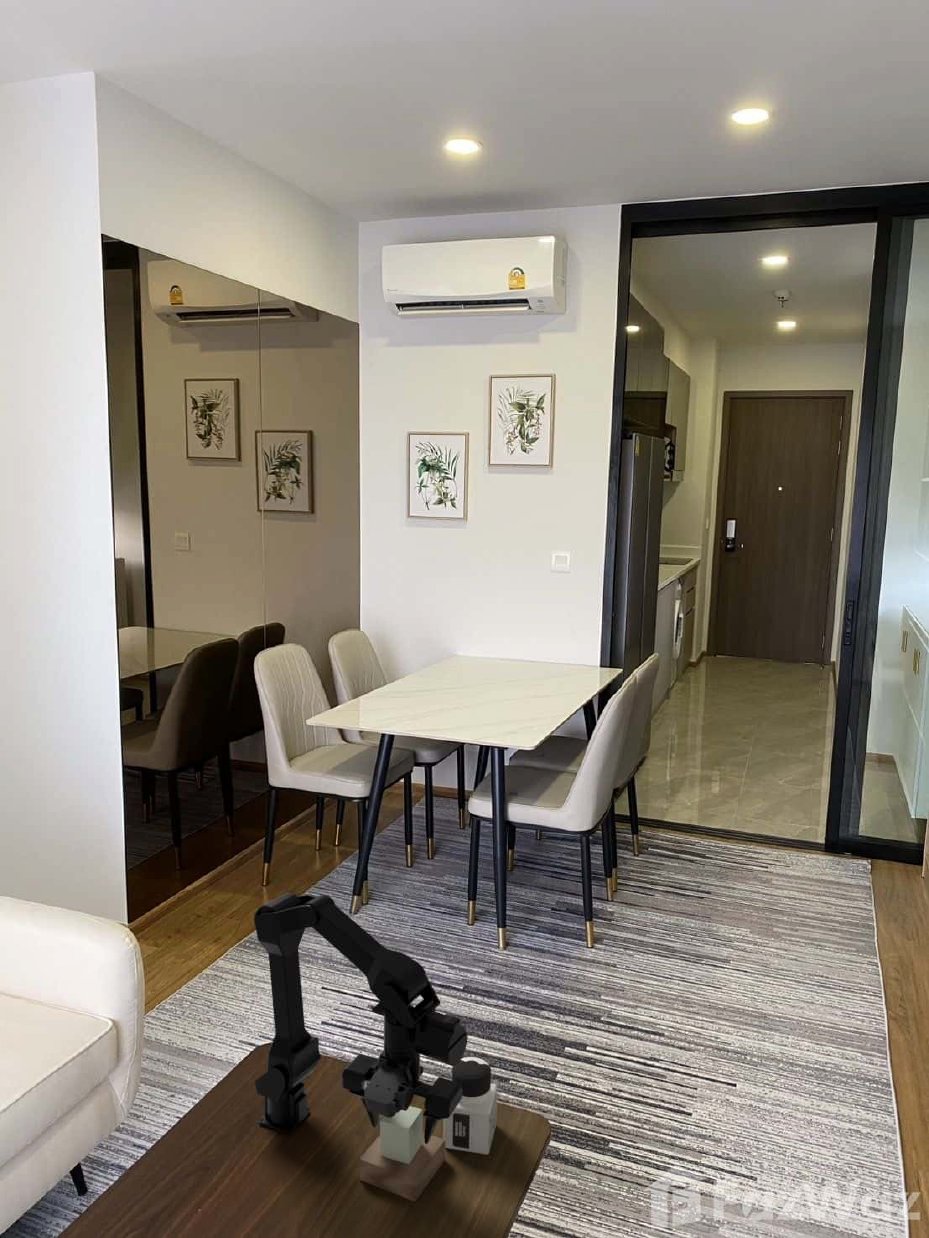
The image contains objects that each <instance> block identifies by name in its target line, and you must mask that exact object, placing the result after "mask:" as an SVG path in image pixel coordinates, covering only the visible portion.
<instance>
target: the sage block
mask: <svg viewBox="0 0 929 1238" xmlns="http://www.w3.org/2000/svg"><path fill="white" fill-rule="evenodd" d="M379 1131H380V1132H379V1135H380V1152H381V1156H383V1157H386V1158H390V1159H393V1160H396V1161H400V1162H403V1163H406V1164H410V1162H411V1161H412V1159H413V1158H414V1156H415V1155H416V1153H417V1151H418V1150H419V1148H420V1147H421V1145H422V1144H423V1137H422V1132H423V1109H422V1108H419V1107H415V1106H412V1105H410V1106H409V1108H408V1110H407V1111H404V1110H400V1111H399V1113H396V1114H395V1116H393V1117H391V1118H388V1117H385V1116H384V1115H382V1117H381V1119H380V1121H379Z"/></svg>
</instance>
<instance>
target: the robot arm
mask: <svg viewBox="0 0 929 1238" xmlns="http://www.w3.org/2000/svg"><path fill="white" fill-rule="evenodd" d="M253 921H254V928H255V931H256V936H257V940H258V942H259V944H260V945H261V946H262V947H263V949H264V950H265V951H266V952H267V955H268V962H269V973H270V974H269V975H270V976H269V977H270V984H271V985H270V987H271V998H272V999H271V1000H272V1008H273V1019H274V1020H273V1021H274V1031H275V1032H274V1037H273V1039H272V1042H271V1046H270V1048H269V1051H268V1055H267V1068H266V1069H267V1071H266V1072H265V1073H264V1074H262V1075H261V1076H260V1077H259V1078H257V1079H256V1080H254V1085H255V1088H256V1092H257V1094H258V1095H260V1096H263V1098H264V1099H263V1102H264V1103H263V1108H264V1109H263V1110H264V1112H263V1113H264V1114H263V1115H261V1117H260V1118H259V1119H258V1124H259V1125H262V1126H265V1127H268V1128H270V1129H273V1130H276V1131H280V1132H283V1133H286V1134H291V1133H292V1132H293V1131H295V1129H296V1128H297V1127H298V1126H299V1125H300V1123H302V1122H303V1120H304V1119H306V1117H307V1116H308V1115H309V1114H310V1112H311V1109H310V1107H308V1104H307V1103H308V1101H307V1098H308V1097H307V1096H308V1095H307V1093H305V1091H306V1090H305V1088H306V1087H305V1083H304V1081H305V1080H306V1079H308V1078H310V1077H311V1074H312V1073H313V1072H314V1071H315V1070H316V1069H317V1068H318V1066H319V1061H320V1060H321V1059H322V1056H321V1053H320V1049H319V1045H320V1044H319V1043H320V1039H319V1038H318V1037H316V1036H315V1037H314V1036H312V1035H311V1034H310V1033H309V1031H308V1030H307V1029H306V1026H305V1014H304V1004H303V1003H304V1002H303V992H302V991H303V989H302V978H301V967H300V966H301V965H300V953H299V946H300V944H301V941H302V939H303V935H304V933H305V930H306V929H308V928H311V929H313V930H314V931H316V933H317V934H319V935H320V936H321V937H323V938H324V939H325V940H326V941H327V942H328V943H329V944H330V945H331V946H332V947H334V948H335V949H336V950H337V951H338V952H339V953H340V954H342V956H344V957H345V958H346V959H347V960H348V961H349V962H350V963H351V964H353V965H354V966H355V967H356V968H357V969H358V970H359V971H360V972H362V974H363V975H364V976H365V977H366V980H367V983H368V986H369V989H370V991H371V992H372V994H373V995H374V996H375V997H376V998H377V1000H379V1002H378V1003H377V1004H375V1005H374V1006H373V1007H372V1008H371V1011H372V1012H373V1013H374V1014H377V1015H379V1016H383V1051H382V1052H381V1053H380V1054H379V1058H375V1057H372V1056H368V1055H365V1054H361V1053H358V1055H357V1056H355V1057H354V1059H353V1060H352V1061H350V1063H349V1064H348V1065H347V1066H346V1067H345V1069H343V1072H342V1075H341V1086H342V1088H343V1089H346V1090H348V1091H349V1093H350V1094H351V1095H354V1096H356V1097H358V1098H360V1100H361V1101H362V1102H361V1103H363V1106H364V1108H365V1110H366V1113H367V1115H368V1118H369V1120H370V1123H371V1126H372V1127H373V1128H377V1126H378V1125H379V1122H380V1121H379V1119H380V1115H381V1116H385V1117H388V1118H391V1117H393V1116H395V1114H396V1113H399V1111H400V1110H404V1111H407V1110H408V1108H409V1106H411V1104H412V1102H413V1099H414V1096H418V1097H421V1098H424V1099H425V1100H424V1103H423V1104H424V1112H422V1117H424V1118H425V1119H424V1120H425V1122H424V1132H425V1133H424V1140H425V1144H428V1142H429V1141H430V1138H431V1136H432V1135H433V1133H434V1131H435V1129H436V1126H437V1124H438V1122H439V1121H441V1120H442V1119H443V1120H444V1119H446V1118H449V1117H450V1116H451V1114H452V1113H453V1111H454V1110H455V1108H456V1106H457V1105H458V1103H459V1102H460V1100H461V1099H462V1087H461V1084H460V1083H459V1082H456V1081H452V1079H448V1078H445V1077H442V1076H438V1077H437V1078H436V1080H435V1081H434V1083H430V1082H427V1081H422V1080H421V1076H422V1075H423V1073H424V1066H421V1055H422V1056H425V1057H427V1058H430V1059H433V1060H435V1061H438V1062H441V1063H443V1064H446V1065H448V1066H452V1067H453V1066H456V1065H457V1064H458V1063H459V1062H460V1060H461V1059H462V1058H464V1054H465V1051H466V1048H467V1045H468V1037H469V1036H468V1033H467V1030H466V1028H465V1026H463V1025H461V1024H462V1023H461V1019H460V1018H459V1017H456V1016H452V1015H447V1014H444V1013H441V1012H438V1011H436V1009H437V1008H438V1007H439V1006H440V1005H441V1000H440V998H439V997H438V995H437V993H436V990H435V989H434V987H433V985H432V983H431V982H430V980H429V978H428V977H427V975H426V973H427V972H426V970H425V968H424V967H423V965H422V964H420V963H419V962H418V961H416V960H414V959H413V958H411V957H410V956H408V955H406V954H405V953H404V952H400V951H396V950H394V949H393V950H392V949H388V948H387V947H385V946H383V944H381V943H380V942H379V941H377V940H376V939H375V938H374V937H373V936H372V935H371V934H370V933H368V932H367V931H366V930H365V929H364V928H362V927H361V926H360V925H358V923H357V922H356V921H354V919H352V918H351V917H350V916H349V915H347V914H346V913H345V912H344V910H343V911H342V909H340V908H339V906H337V905H336V903H335V901H334V899H333V898H332V897H331V896H329V895H326V894H320V895H314V894H310V893H307V894H302V895H301V894H300V895H296V894H295V893H292V892H286V893H284V894H282V895H280V896H278V897H276V898H274V899H272V900H270V901H269V902H266V903H264V904H263V905H262V906H260V907H258V908H257V910H256V911H255V912H254V916H253ZM420 997H421V998H422V1000H421V1001H419V1003H418V1004H416V1005H415V1006H414V1005H413V1004H412V1003H413V1002H414V1001H416V1000H417V998H420Z"/></svg>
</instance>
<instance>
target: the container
mask: <svg viewBox="0 0 929 1238" xmlns="http://www.w3.org/2000/svg"><path fill="white" fill-rule="evenodd" d="M451 1080H452V1081H456V1082H459V1083H460V1084H461V1087H462V1099H461V1100H460V1102H459V1103H458V1105H457V1106H456V1108H455V1110H454V1111H453V1113H452V1114H451V1116H450V1117H449V1118H446V1119H443V1136H442V1139H444V1140H445V1149H449V1150H450V1149H451V1150H456V1151H464V1152H469V1153H476V1154H481V1155H486V1156H487V1155H489V1154H490V1149H491V1145H492V1144H493V1143H492V1142H493V1138H494V1135H495V1130H496V1126H497V1112H498V1111H497V1103H498V1102H497V1100H498V1086H497V1084H496V1083H492V1068H491V1066H490V1064H488V1062H486V1061H485V1060H484V1059H482V1058H479V1057H475V1056H474V1057H473V1056H470V1057H469V1056H467V1057H462V1059H461V1060H460V1062H459V1063H458V1064H457V1065H456V1066H452V1069H451Z"/></svg>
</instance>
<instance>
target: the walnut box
mask: <svg viewBox="0 0 929 1238" xmlns="http://www.w3.org/2000/svg"><path fill="white" fill-rule="evenodd" d="M424 1133H425V1131H422V1137H423V1144H422V1145H421V1147H420V1148H419V1150H418V1151H417V1153H416V1155H415V1156H414V1158H413V1159H412V1161H411V1162H410V1164H406V1163H403V1162H400V1161H396V1160H393V1159H390V1158H386V1157H383V1156H381V1152H380V1134H379V1135H378V1137H377V1138H376V1139H375V1140H374V1141H373V1142H372V1144H371V1145H370V1146H369V1147H368V1148H367V1150H366V1151H365V1152H364V1153H363V1155H361V1157H360V1158H359V1180H360V1181H361V1182H362V1181H363V1182H365V1183H367V1184H370V1185H372V1186H375V1187H378V1188H380V1189H382V1190H384V1191H387V1192H389V1193H393V1194H395V1195H398V1196H400V1197H402V1198H405V1199H408V1200H410V1201H412V1202H416V1201H417V1200H418V1198H419V1197H420V1195H421V1194H422V1193H423V1191H424V1190H425V1189H426V1187H427V1186H428V1185H429V1183H430V1181H431V1180H432V1179H433V1177H434V1176H435V1175H436V1173H437V1172H438V1170H439V1169H440V1168H441V1166H442V1164H443V1163H444V1162H445V1160H446V1148H445V1140H444V1139H443V1138H440V1137H438V1136H435V1135H433V1134H432V1136H431V1138H430V1141H429V1142H428V1144H425V1140H424Z"/></svg>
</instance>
